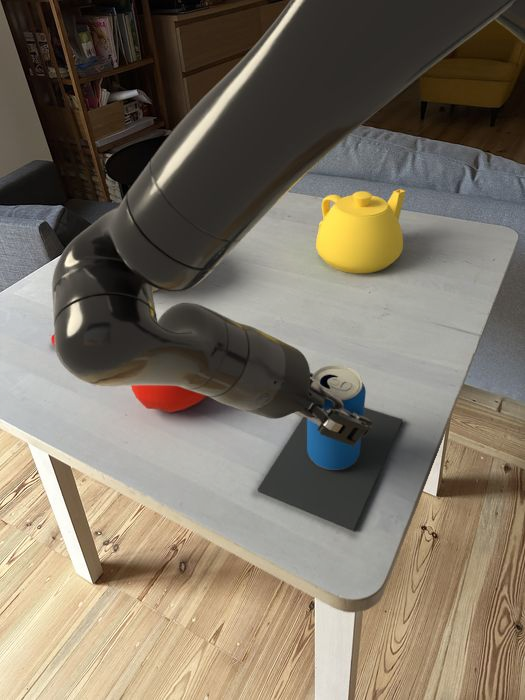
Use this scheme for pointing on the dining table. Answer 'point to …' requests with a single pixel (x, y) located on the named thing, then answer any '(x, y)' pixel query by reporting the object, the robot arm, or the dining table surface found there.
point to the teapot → (360, 232)
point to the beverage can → (353, 397)
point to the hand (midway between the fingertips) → (340, 406)
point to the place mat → (331, 474)
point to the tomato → (166, 397)
